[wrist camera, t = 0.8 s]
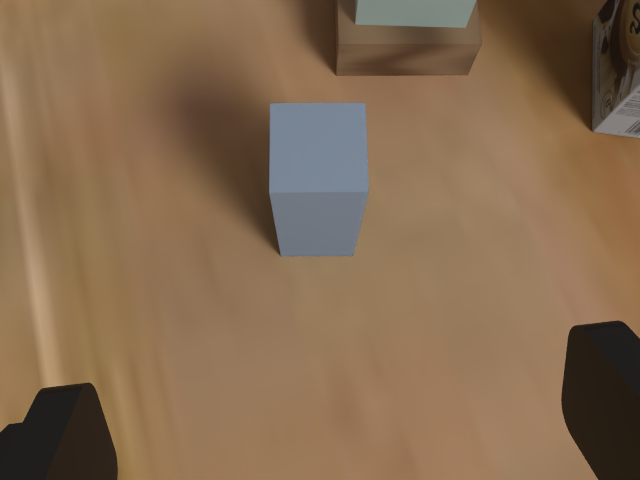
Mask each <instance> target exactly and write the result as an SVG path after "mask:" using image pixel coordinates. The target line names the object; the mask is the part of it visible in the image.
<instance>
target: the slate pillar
mask: <svg viewBox="0 0 640 480" xmlns="http://www.w3.org/2000/svg"><path fill="white" fill-rule="evenodd" d="M269 194H270V200H271V205H272V211H273V216H274V222H275V227H276V232H277V238H278V243H279V249H280V254H281V256H353V254H354V250H355V246H356V242H357V238H358V234H359V230H360V226H361V222H362V218H363V214H364V210H365V206H366V202H367V198H368V194H369V181H368V155H367V130H366V104H365V103H270V164H269Z"/></svg>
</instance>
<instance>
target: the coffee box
mask: <svg viewBox="0 0 640 480" xmlns="http://www.w3.org/2000/svg"><path fill="white" fill-rule="evenodd" d="M592 131H593V132H597V133H605V134H612V135H620V136H627V137H635V138H640V0H607V2H606V3H605V5H604V6H603V7H602V9H601V10H600V12H599V13H598V14H597V16H596V17H595V19H594V21H593V94H592Z"/></svg>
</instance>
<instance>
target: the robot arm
mask: <svg viewBox="0 0 640 480" xmlns="http://www.w3.org/2000/svg"><path fill="white" fill-rule="evenodd" d="M561 401H562V411H563V415H564V419H565V423H566V425H567V428H568V430H569V432H570V434H571V436H572V438H573V439H574V441H575V443H576V444H577V446H578V447H579V449H580V451H581V452H582V454H583V456H584V457H585V459H586V460H587V462H588V464H589V465H590V467H591V469H592V470H593V472H594V473H595V475H596V477H597V478H598V480H640V339H639V338H638V337H637V335H636V334H635V333H634V332H633V331H632V330H631V329H630V328H629V327H628V326H627V325H626V324H625V323H623V322H622V321H610V322H602V323H593V324H585V325H577V326H573V327H572V328H571V330H570V332H569V336H568V343H567V352H566V361H565V370H564V379H563V387H562V398H561ZM117 474H118V467H117V457H116V452H115V448H114V445H113V442H112V438H111V435H110V432H109V429H108V426H107V423H106V420H105V417H104V413H103V410H102V407H101V404H100V401H99V398H98V395H97V392H96V389H95V388H94V386H93V385H92V384H91V383H82V384H73V385H65V386H57V387H48V388H43V389H41V390H40V391H39V392H38V394H37V395H36V397H35V399H34V401H33V403H32V405H31V407H30V409H29V411H28V413H27V415H26V417H25V419H24V421H23V423H15V424H9V425H8V426H7V427H6V428H4V429H3V430H2V431H1V432H0V480H117Z"/></svg>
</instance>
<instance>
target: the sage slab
mask: <svg viewBox="0 0 640 480" xmlns="http://www.w3.org/2000/svg"><path fill="white" fill-rule="evenodd" d="M475 3H476V0H355V25H387V26H421V27H455V28H466V26H467V23H468V20H469V18H470V15H471V13H472V10H473V8H474V5H475Z"/></svg>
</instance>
